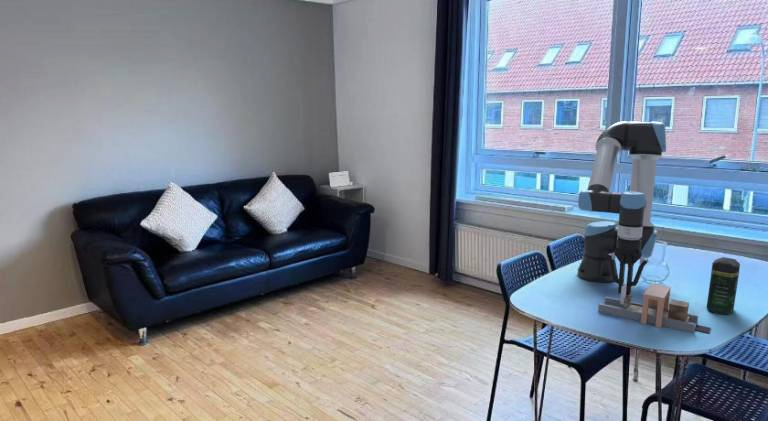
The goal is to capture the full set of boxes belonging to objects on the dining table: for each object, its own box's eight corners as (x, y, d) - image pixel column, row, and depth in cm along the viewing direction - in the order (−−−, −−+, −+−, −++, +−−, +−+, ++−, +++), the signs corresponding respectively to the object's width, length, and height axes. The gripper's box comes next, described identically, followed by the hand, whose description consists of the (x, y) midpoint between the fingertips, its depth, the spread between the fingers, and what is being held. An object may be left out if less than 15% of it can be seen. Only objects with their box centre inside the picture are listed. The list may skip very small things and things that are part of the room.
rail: (598, 311, 181) (598, 304, 180) (605, 303, 188) (605, 296, 187) (693, 332, 164) (694, 324, 163) (697, 323, 171) (698, 315, 170)
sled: (622, 312, 177) (624, 295, 176) (627, 307, 182) (628, 290, 181) (686, 326, 166) (688, 308, 165) (688, 320, 171) (691, 302, 170)
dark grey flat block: (694, 330, 166) (694, 329, 165) (696, 325, 169) (696, 324, 169) (709, 333, 163) (709, 332, 163) (710, 328, 167) (710, 327, 167)
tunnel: (640, 323, 171) (643, 294, 169) (648, 311, 181) (651, 283, 179) (660, 327, 168) (664, 297, 166) (667, 315, 178) (670, 287, 175)
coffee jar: (730, 317, 175) (737, 264, 172) (704, 311, 181) (710, 260, 177) (735, 308, 182) (742, 258, 179) (710, 303, 188) (716, 254, 184)
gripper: (606, 236, 176) (600, 302, 181) (648, 242, 168) (641, 310, 173) (611, 232, 182) (606, 295, 186) (652, 237, 174) (646, 303, 179)
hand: (623, 303), depth 180 cm, fingers closed
